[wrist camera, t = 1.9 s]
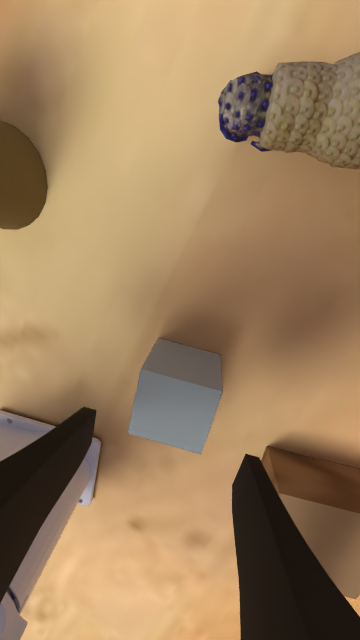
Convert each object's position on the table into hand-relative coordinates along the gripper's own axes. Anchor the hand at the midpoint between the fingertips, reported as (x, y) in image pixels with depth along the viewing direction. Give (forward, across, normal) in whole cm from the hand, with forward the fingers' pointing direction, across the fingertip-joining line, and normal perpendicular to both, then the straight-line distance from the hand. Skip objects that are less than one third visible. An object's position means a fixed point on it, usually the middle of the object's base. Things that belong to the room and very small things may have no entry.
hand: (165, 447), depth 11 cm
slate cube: (+7, 0, 0) cm, 7 cm away
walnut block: (+7, -12, +8) cm, 16 cm away
